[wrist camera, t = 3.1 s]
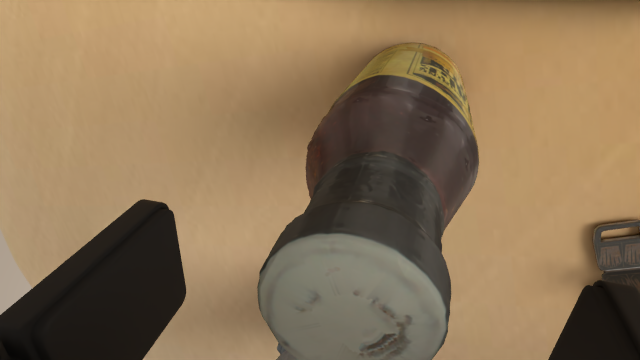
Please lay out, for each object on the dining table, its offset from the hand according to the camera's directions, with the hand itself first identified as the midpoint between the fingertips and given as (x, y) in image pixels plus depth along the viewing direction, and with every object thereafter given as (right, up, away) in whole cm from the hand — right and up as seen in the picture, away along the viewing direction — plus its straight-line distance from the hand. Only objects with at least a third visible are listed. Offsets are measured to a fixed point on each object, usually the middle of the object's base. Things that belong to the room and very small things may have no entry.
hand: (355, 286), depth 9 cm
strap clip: (+20, -4, +18) cm, 27 cm away
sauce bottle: (+5, +8, +16) cm, 19 cm away
